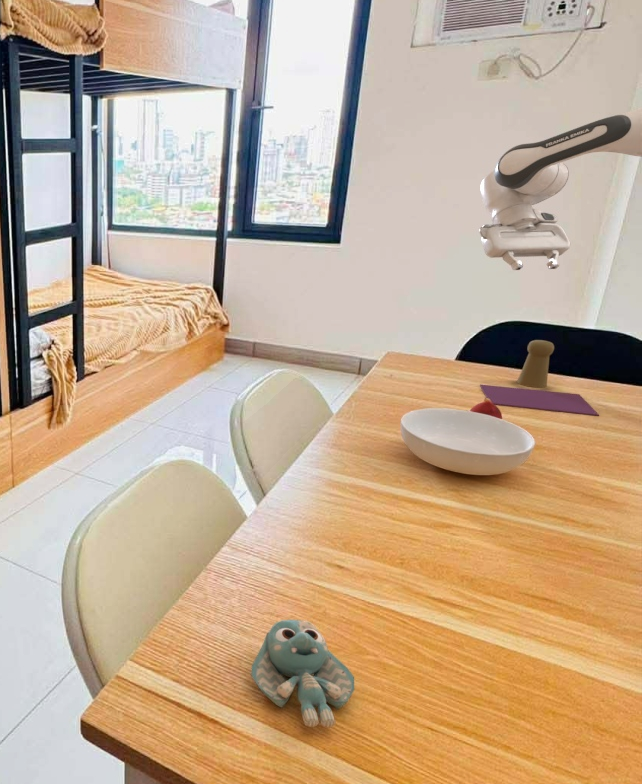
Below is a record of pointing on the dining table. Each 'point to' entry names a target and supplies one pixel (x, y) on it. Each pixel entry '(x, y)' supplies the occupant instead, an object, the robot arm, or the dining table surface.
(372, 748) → the dining table surface
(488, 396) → the plum cloth
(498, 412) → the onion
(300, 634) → the stuffed animal
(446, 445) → the serving bowl
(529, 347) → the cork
